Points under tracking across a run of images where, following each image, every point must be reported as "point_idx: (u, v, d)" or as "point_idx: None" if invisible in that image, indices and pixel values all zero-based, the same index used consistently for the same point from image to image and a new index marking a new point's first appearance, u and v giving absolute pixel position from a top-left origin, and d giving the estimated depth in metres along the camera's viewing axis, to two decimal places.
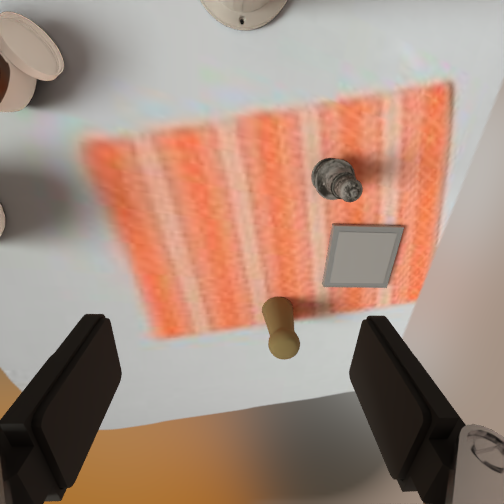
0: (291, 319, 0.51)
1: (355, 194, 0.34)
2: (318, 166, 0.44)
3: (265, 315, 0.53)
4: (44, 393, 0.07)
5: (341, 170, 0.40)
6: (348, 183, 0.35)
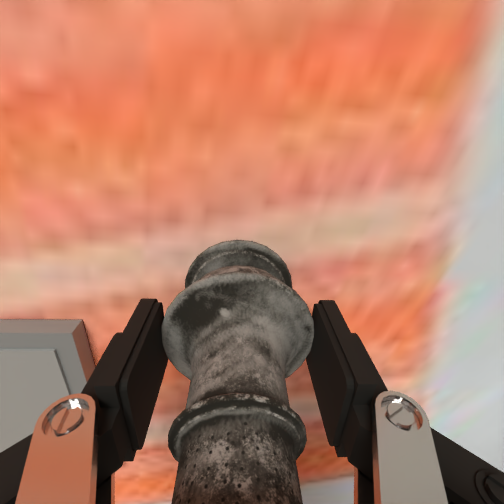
0: None
1: None
2: (268, 259, 0.13)
3: None
4: (125, 363, 0.08)
5: None
6: None
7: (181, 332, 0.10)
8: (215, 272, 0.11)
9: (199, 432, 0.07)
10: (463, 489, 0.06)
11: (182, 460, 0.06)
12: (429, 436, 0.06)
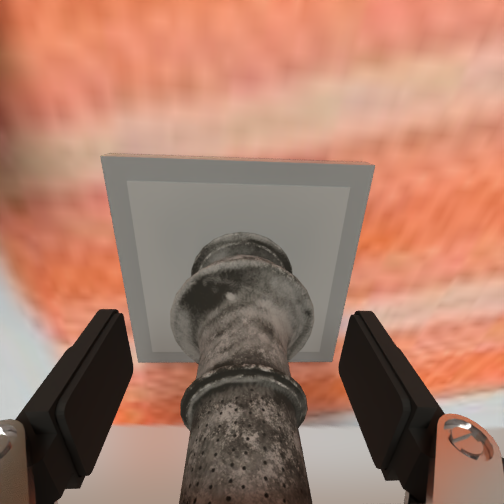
0: None
1: None
2: (270, 249, 0.14)
3: None
4: (65, 384, 0.07)
5: None
6: None
7: (189, 316, 0.11)
8: (221, 260, 0.11)
9: (210, 398, 0.07)
10: None
11: (194, 423, 0.07)
12: (499, 470, 0.06)
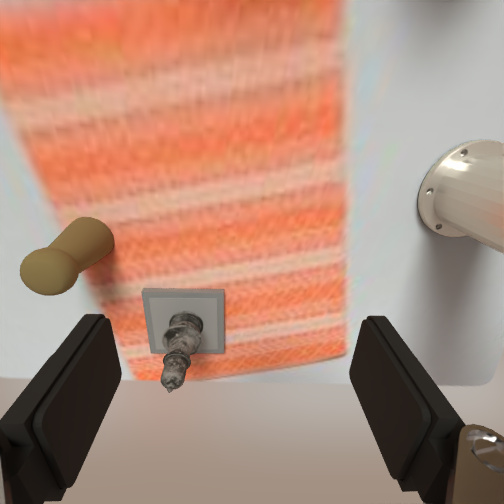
0: None
1: (169, 391, 0.33)
2: (194, 316, 0.43)
3: (81, 226, 0.35)
4: (44, 393, 0.07)
5: (192, 349, 0.40)
6: (179, 378, 0.34)
7: (166, 339, 0.40)
8: (175, 323, 0.41)
9: (168, 358, 0.37)
10: None
11: (165, 362, 0.36)
12: None
